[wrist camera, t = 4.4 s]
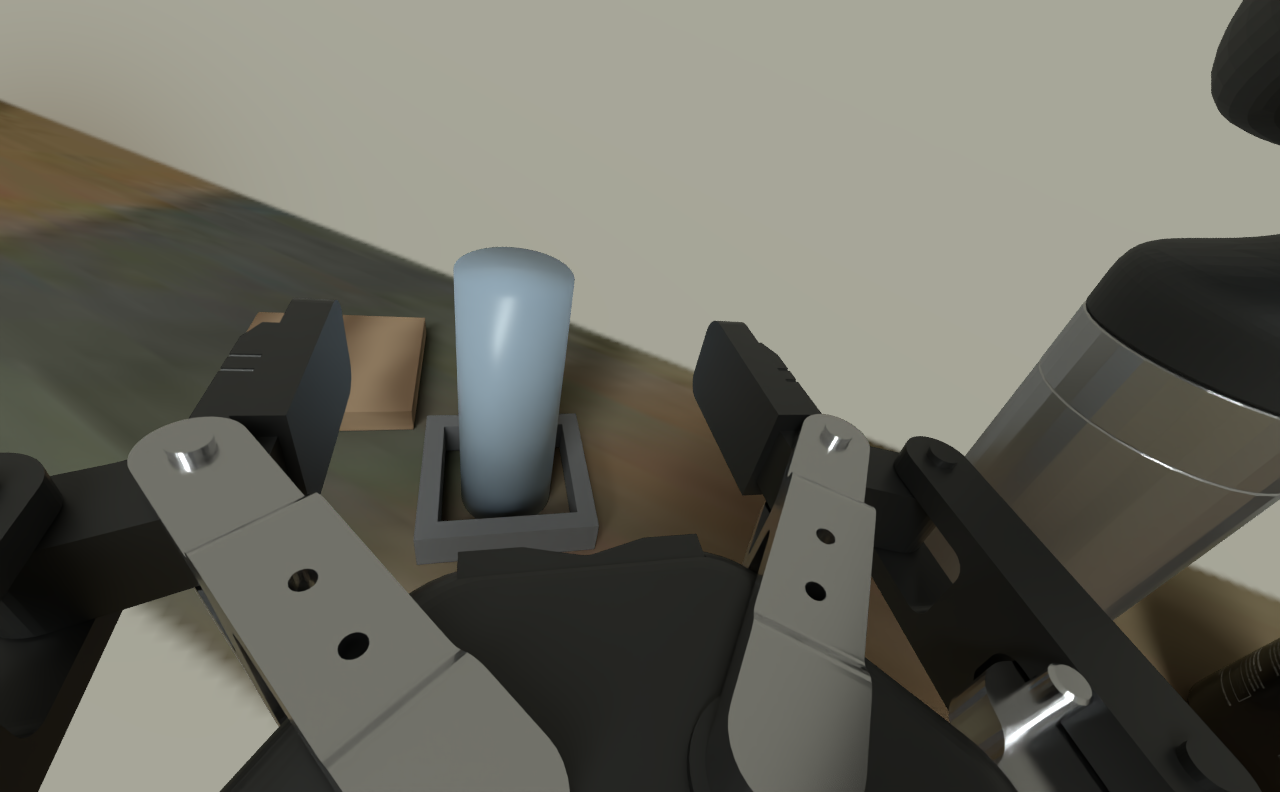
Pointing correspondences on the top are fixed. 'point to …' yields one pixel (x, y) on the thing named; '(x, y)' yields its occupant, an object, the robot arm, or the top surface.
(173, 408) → the top surface
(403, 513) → the top surface
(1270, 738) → the supplement bottle
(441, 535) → the square grey frame
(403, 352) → the walnut board
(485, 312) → the canister
